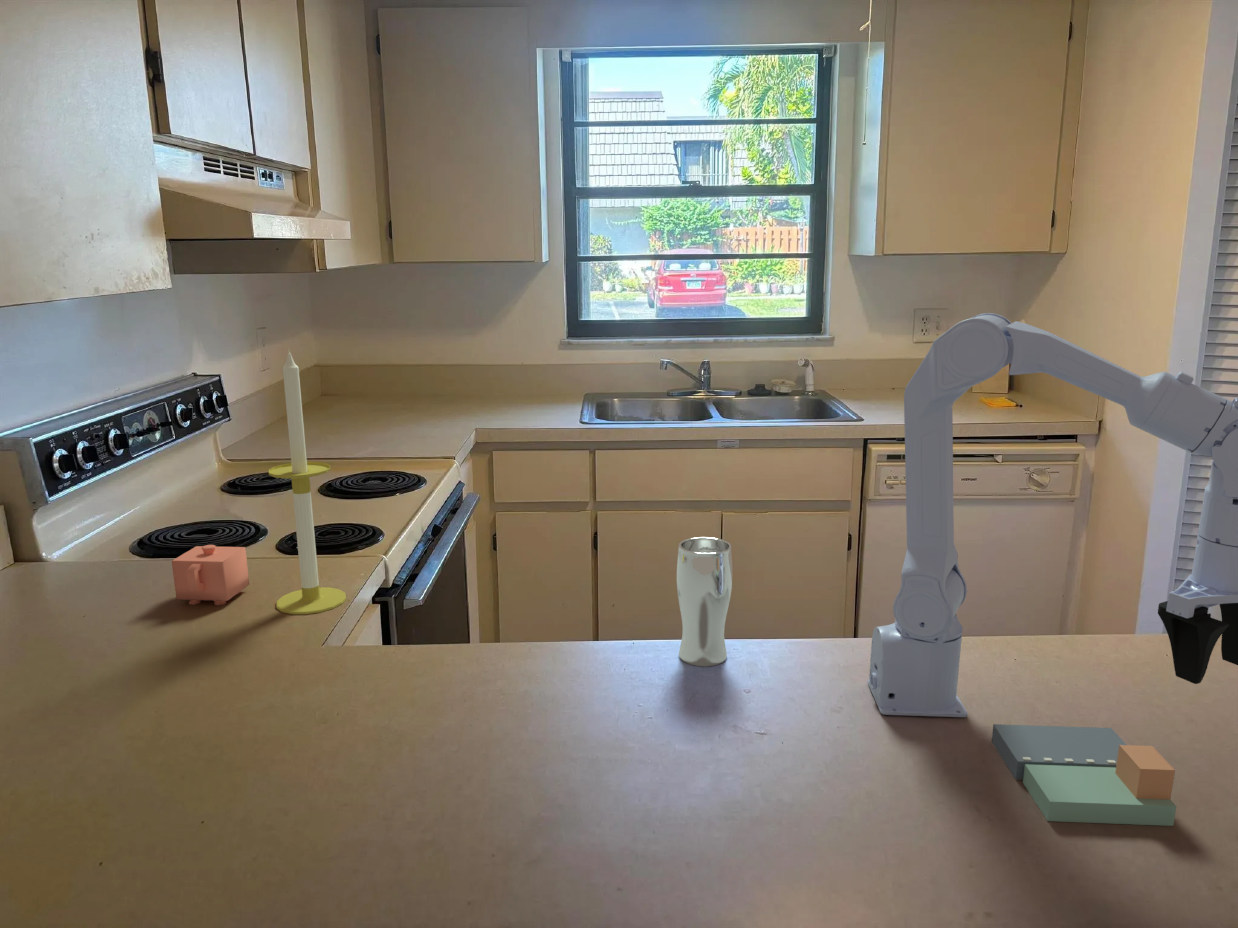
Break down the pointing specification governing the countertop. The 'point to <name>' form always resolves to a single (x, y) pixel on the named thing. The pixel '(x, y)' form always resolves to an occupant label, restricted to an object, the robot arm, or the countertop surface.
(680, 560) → the beer glass
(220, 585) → the pink cube teapot
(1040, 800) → the pale green flat slab
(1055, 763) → the white-dotted slate slab
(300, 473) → the candle
